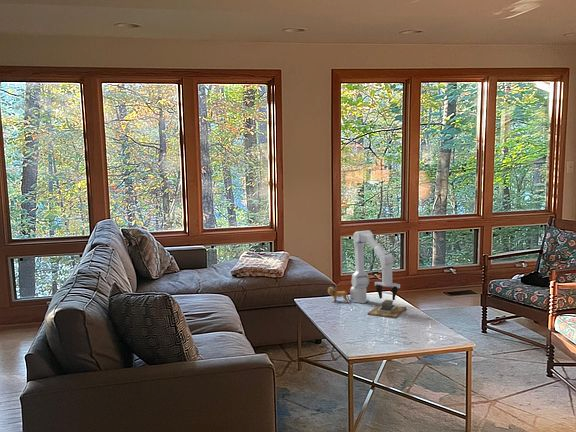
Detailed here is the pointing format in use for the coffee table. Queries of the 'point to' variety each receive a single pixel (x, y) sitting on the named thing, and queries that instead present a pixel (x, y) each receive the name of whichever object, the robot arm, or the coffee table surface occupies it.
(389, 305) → the servo block
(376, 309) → the pocket plate
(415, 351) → the coffee table surface
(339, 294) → the lion figurine
